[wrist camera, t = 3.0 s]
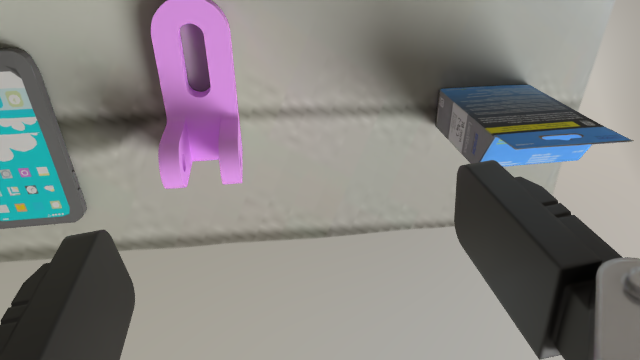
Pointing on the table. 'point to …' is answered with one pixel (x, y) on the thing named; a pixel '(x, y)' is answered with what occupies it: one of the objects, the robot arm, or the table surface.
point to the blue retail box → (516, 125)
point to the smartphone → (32, 151)
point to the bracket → (196, 94)
